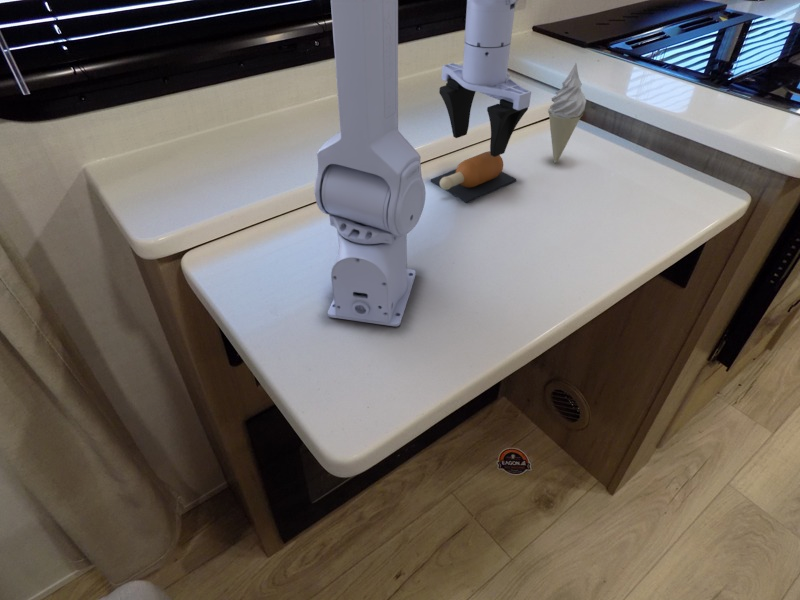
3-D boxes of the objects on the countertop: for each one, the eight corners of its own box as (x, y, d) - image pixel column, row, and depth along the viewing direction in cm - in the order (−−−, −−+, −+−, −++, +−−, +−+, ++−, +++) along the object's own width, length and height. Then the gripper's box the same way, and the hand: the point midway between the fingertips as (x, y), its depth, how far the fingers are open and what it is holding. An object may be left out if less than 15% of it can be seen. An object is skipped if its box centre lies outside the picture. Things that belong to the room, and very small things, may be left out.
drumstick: (445, 204, 75) (454, 184, 71) (429, 185, 76) (436, 165, 73) (502, 179, 80) (512, 160, 76) (486, 162, 81) (495, 142, 78)
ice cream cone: (575, 170, 81) (598, 68, 71) (542, 170, 81) (560, 68, 72) (568, 155, 85) (589, 57, 75) (536, 155, 85) (553, 57, 75)
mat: (466, 203, 74) (467, 200, 74) (430, 181, 79) (430, 179, 79) (516, 181, 79) (516, 178, 79) (478, 162, 84) (479, 159, 84)
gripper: (554, 48, 63) (536, 154, 72) (470, 24, 72) (464, 121, 81) (513, 60, 60) (499, 169, 69) (431, 33, 69) (428, 133, 78)
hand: (478, 144), depth 75 cm, fingers open, 7 cm apart
